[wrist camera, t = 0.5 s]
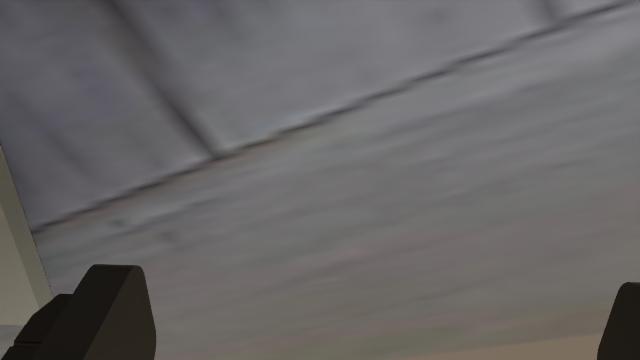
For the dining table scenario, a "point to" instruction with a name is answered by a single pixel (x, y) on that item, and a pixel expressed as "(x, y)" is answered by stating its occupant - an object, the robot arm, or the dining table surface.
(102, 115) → the dining table surface
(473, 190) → the dining table surface
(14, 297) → the base plate
